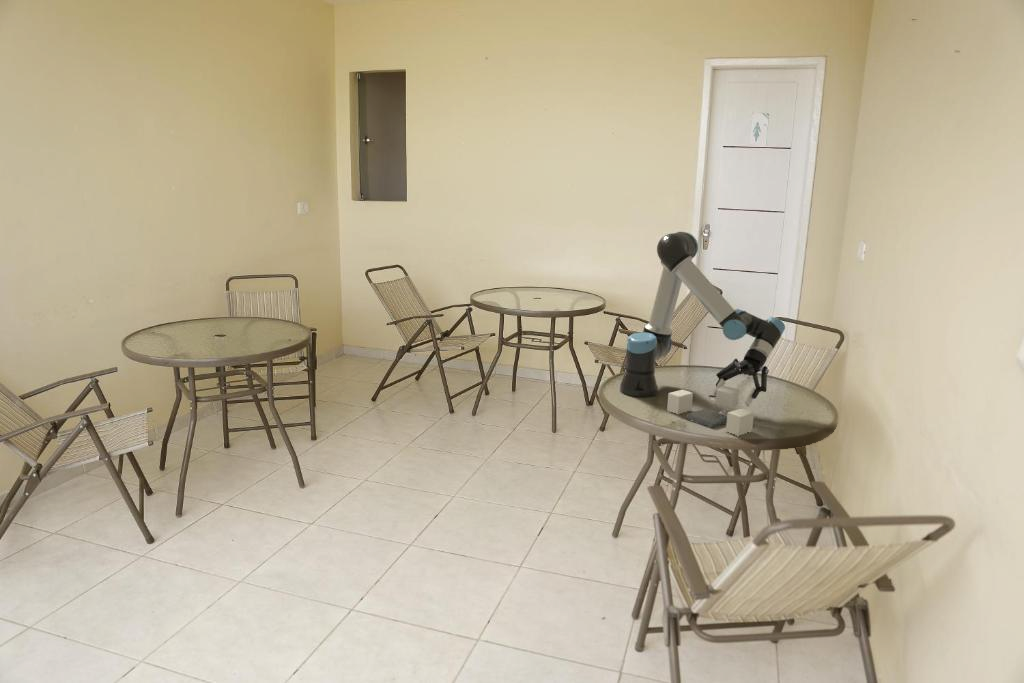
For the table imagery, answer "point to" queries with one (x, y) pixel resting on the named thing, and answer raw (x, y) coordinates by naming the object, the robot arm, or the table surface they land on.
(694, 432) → the table surface
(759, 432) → the table surface
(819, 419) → the table surface
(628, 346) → the robot arm
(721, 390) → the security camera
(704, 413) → the mount plate
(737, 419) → the mounted modules
